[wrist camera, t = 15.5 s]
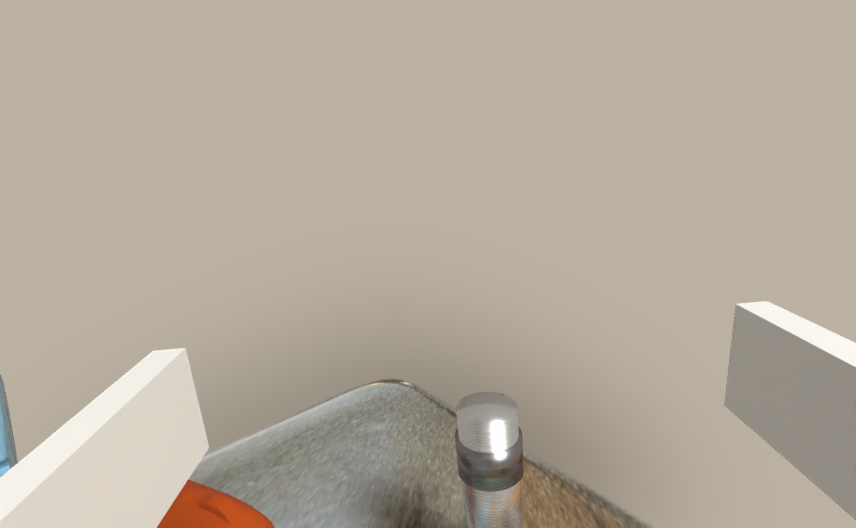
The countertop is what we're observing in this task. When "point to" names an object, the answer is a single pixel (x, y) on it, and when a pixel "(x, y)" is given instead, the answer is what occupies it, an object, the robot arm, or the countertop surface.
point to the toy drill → (211, 510)
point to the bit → (490, 460)
